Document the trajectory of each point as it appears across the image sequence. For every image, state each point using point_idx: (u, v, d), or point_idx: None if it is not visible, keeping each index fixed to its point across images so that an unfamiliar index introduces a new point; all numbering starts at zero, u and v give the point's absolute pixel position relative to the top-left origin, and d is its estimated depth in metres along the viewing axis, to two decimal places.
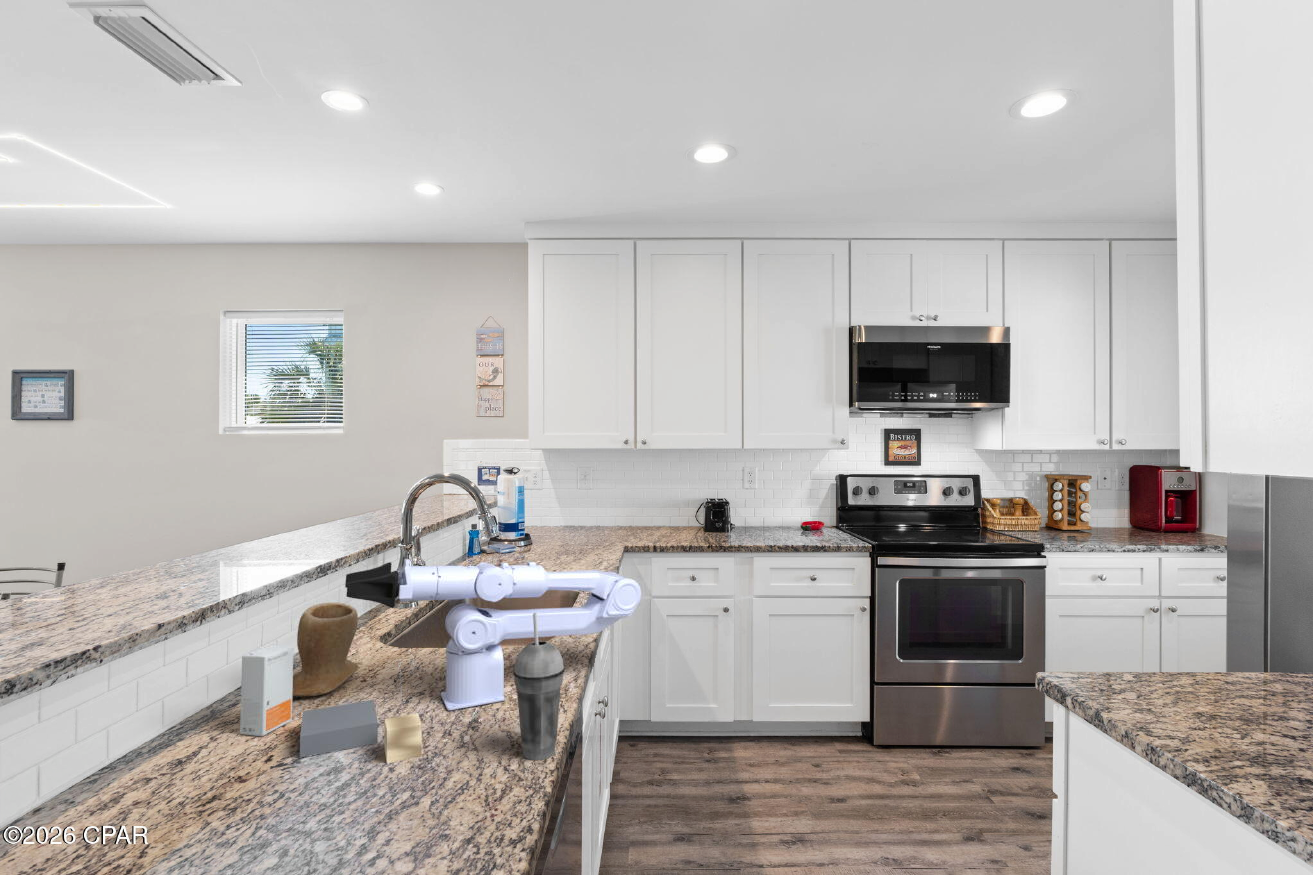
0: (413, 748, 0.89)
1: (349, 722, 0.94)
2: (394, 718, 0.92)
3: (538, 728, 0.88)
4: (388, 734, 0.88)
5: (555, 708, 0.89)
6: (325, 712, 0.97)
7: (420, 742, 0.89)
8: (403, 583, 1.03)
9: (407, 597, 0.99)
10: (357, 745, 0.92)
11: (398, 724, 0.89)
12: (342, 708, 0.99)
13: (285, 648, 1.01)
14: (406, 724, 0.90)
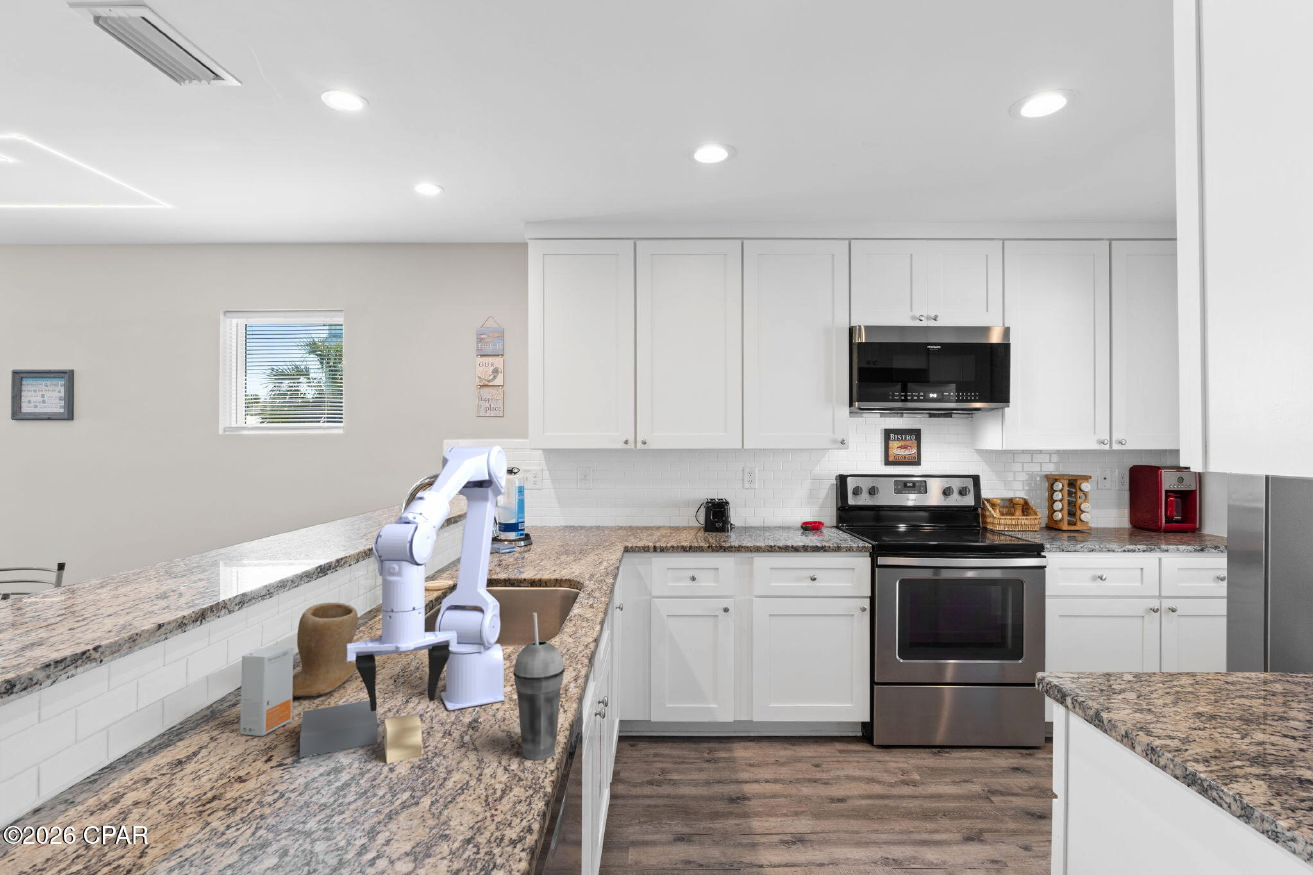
0: (413, 748, 0.89)
1: (349, 722, 0.94)
2: (394, 718, 0.92)
3: (538, 728, 0.88)
4: (388, 734, 0.88)
5: (555, 708, 0.89)
6: (325, 712, 0.97)
7: (420, 742, 0.89)
8: None
9: None
10: (357, 745, 0.92)
11: (398, 724, 0.89)
12: (342, 708, 0.99)
13: (285, 648, 1.01)
14: (406, 724, 0.90)
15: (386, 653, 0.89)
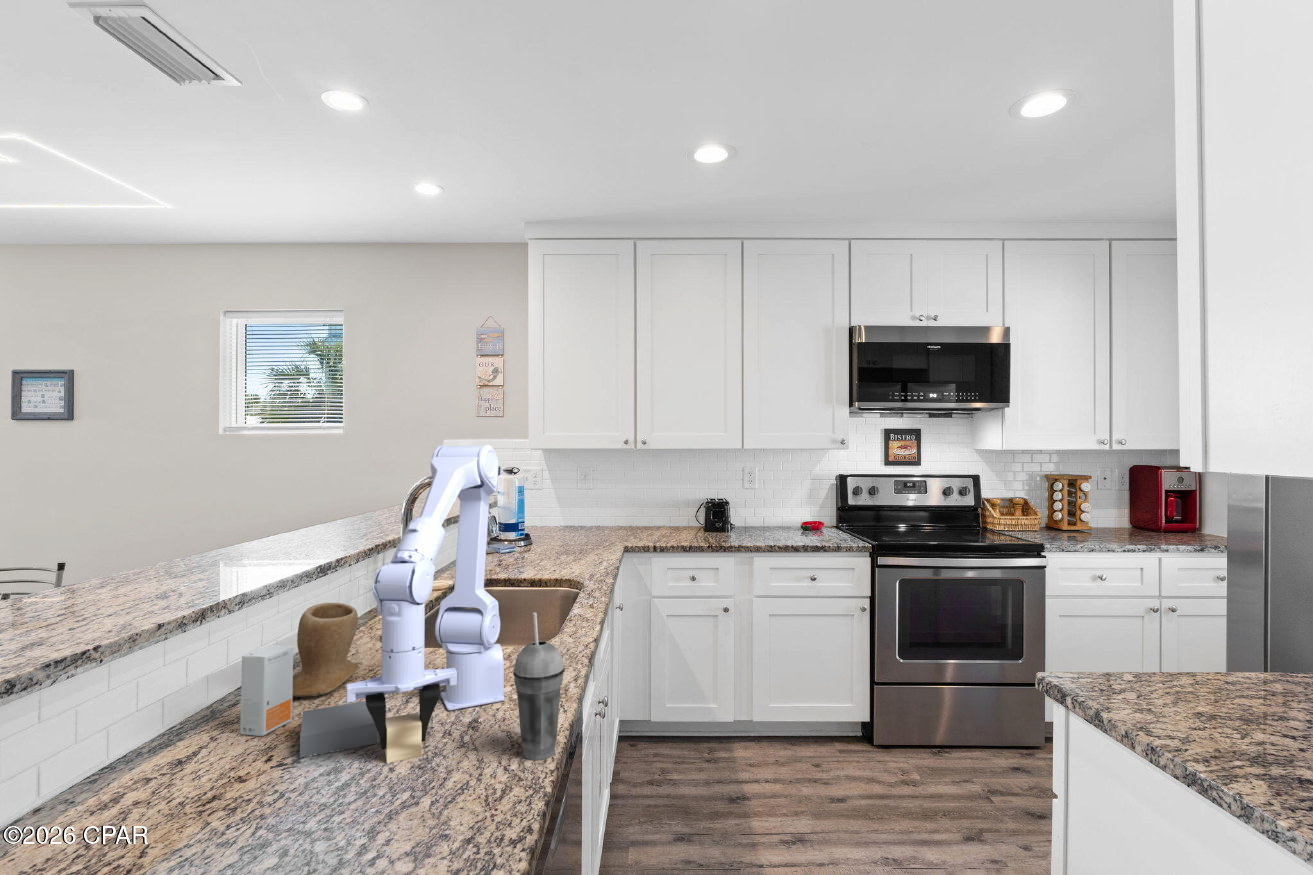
0: (413, 747, 0.89)
1: (349, 722, 0.94)
2: (394, 717, 0.92)
3: (538, 728, 0.88)
4: (388, 733, 0.88)
5: (555, 708, 0.89)
6: (325, 712, 0.97)
7: (420, 741, 0.89)
8: None
9: None
10: (357, 745, 0.92)
11: (398, 724, 0.89)
12: (342, 708, 0.99)
13: (285, 648, 1.01)
14: (406, 723, 0.90)
15: (386, 693, 0.89)
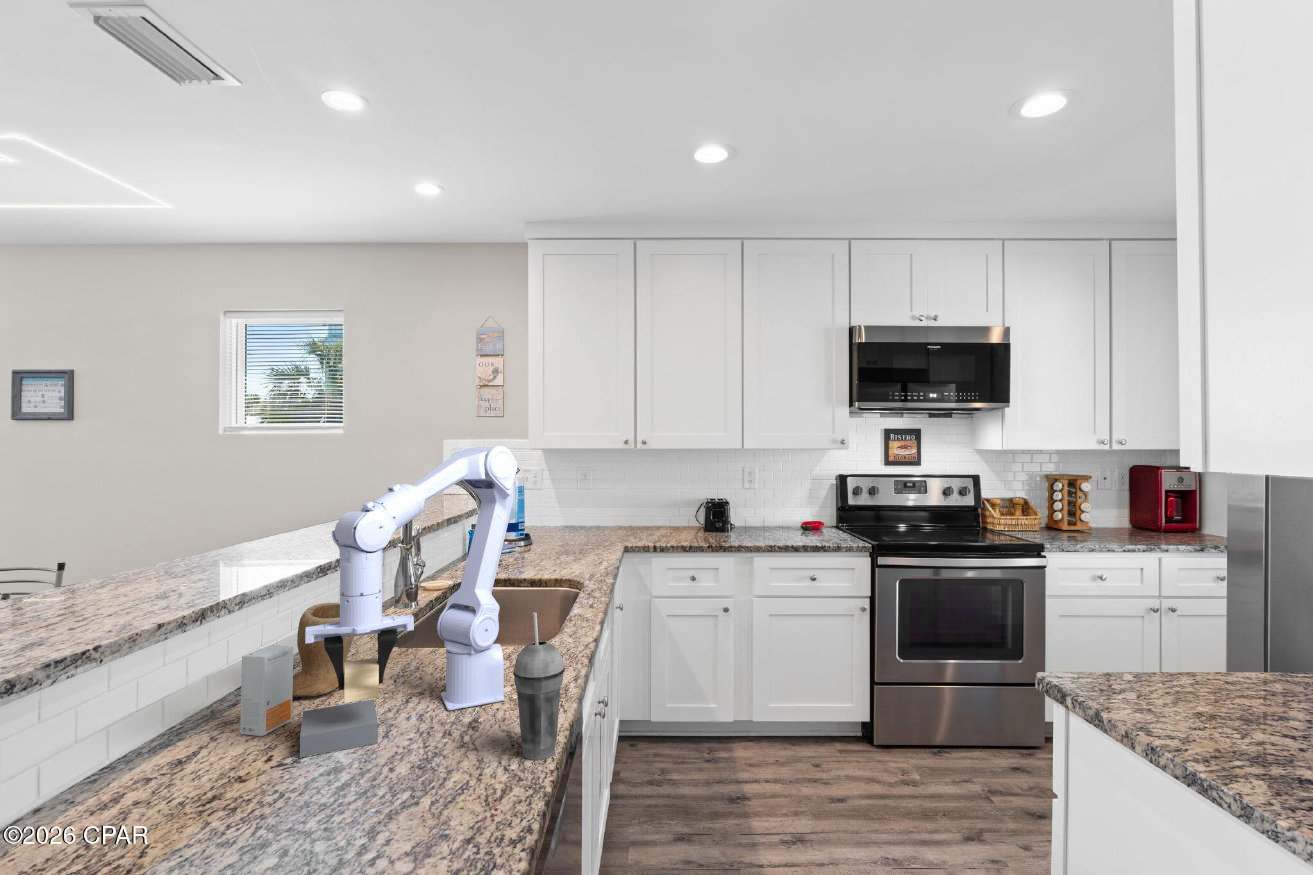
0: (370, 688, 0.93)
1: (349, 722, 0.94)
2: (353, 661, 0.95)
3: (538, 728, 0.88)
4: (346, 674, 0.91)
5: (555, 708, 0.89)
6: (325, 712, 0.97)
7: (377, 683, 0.93)
8: None
9: None
10: (357, 745, 0.92)
11: (356, 666, 0.93)
12: (342, 708, 0.99)
13: (285, 648, 1.01)
14: (363, 666, 0.93)
15: (344, 636, 0.93)
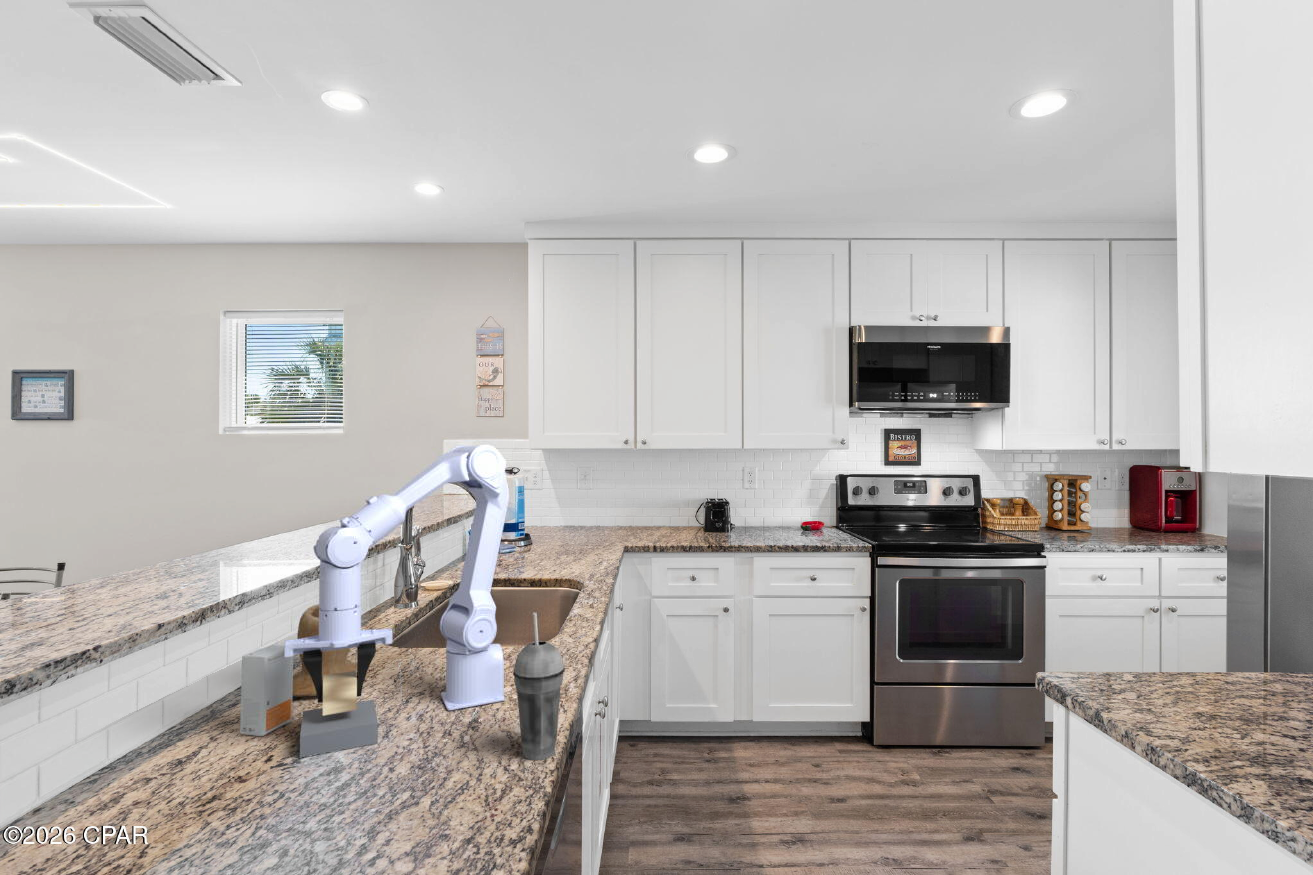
0: (348, 701, 0.94)
1: (349, 722, 0.94)
2: (332, 674, 0.97)
3: (538, 728, 0.88)
4: (324, 687, 0.93)
5: (555, 708, 0.89)
6: None
7: (355, 696, 0.95)
8: None
9: None
10: (357, 745, 0.92)
11: (335, 679, 0.95)
12: None
13: None
14: (342, 679, 0.95)
15: (323, 650, 0.95)
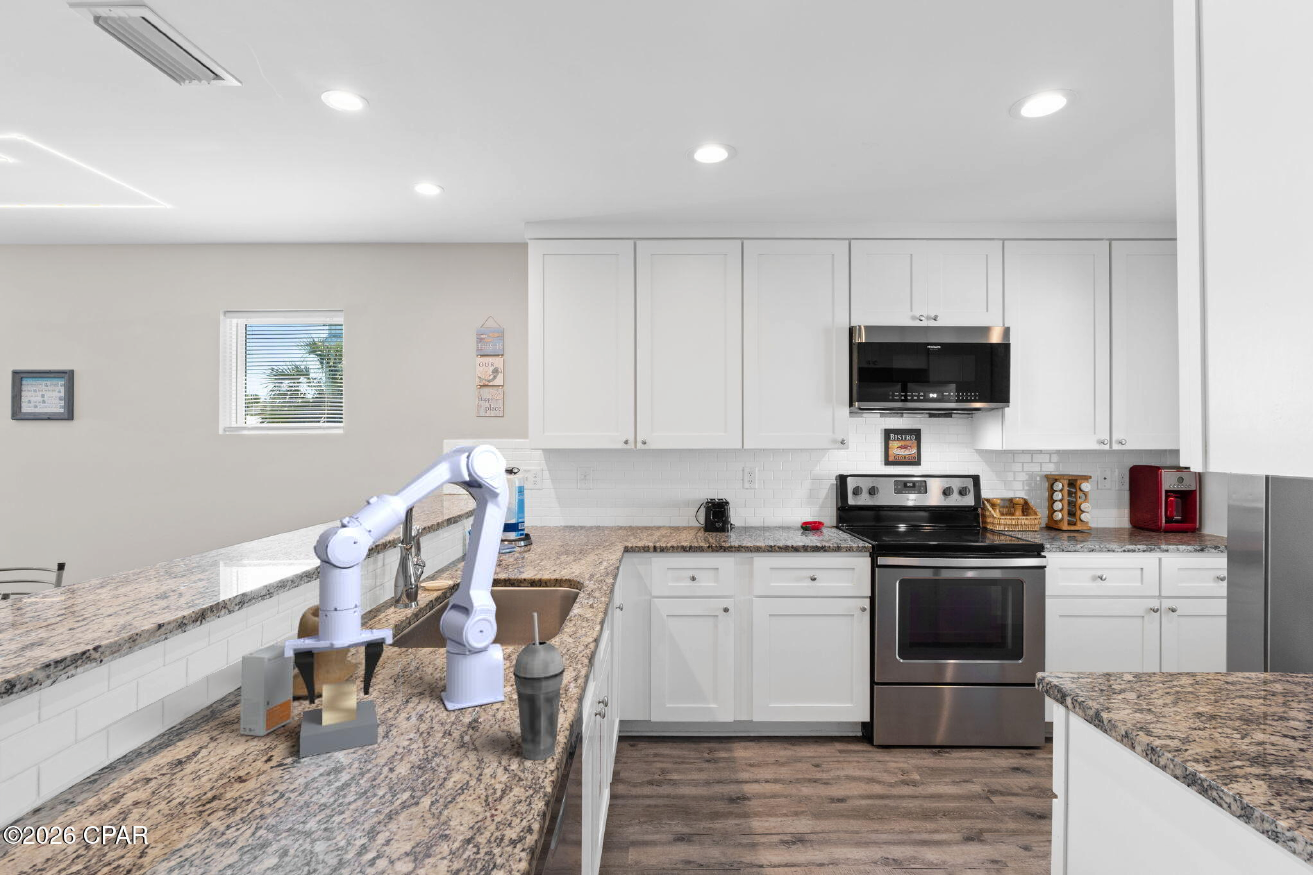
0: (348, 711, 0.94)
1: (349, 722, 0.94)
2: (332, 684, 0.97)
3: (538, 728, 0.88)
4: (323, 697, 0.93)
5: (555, 708, 0.89)
6: None
7: (355, 705, 0.95)
8: None
9: None
10: (357, 745, 0.92)
11: (334, 689, 0.95)
12: None
13: None
14: (341, 689, 0.95)
15: (323, 649, 0.95)
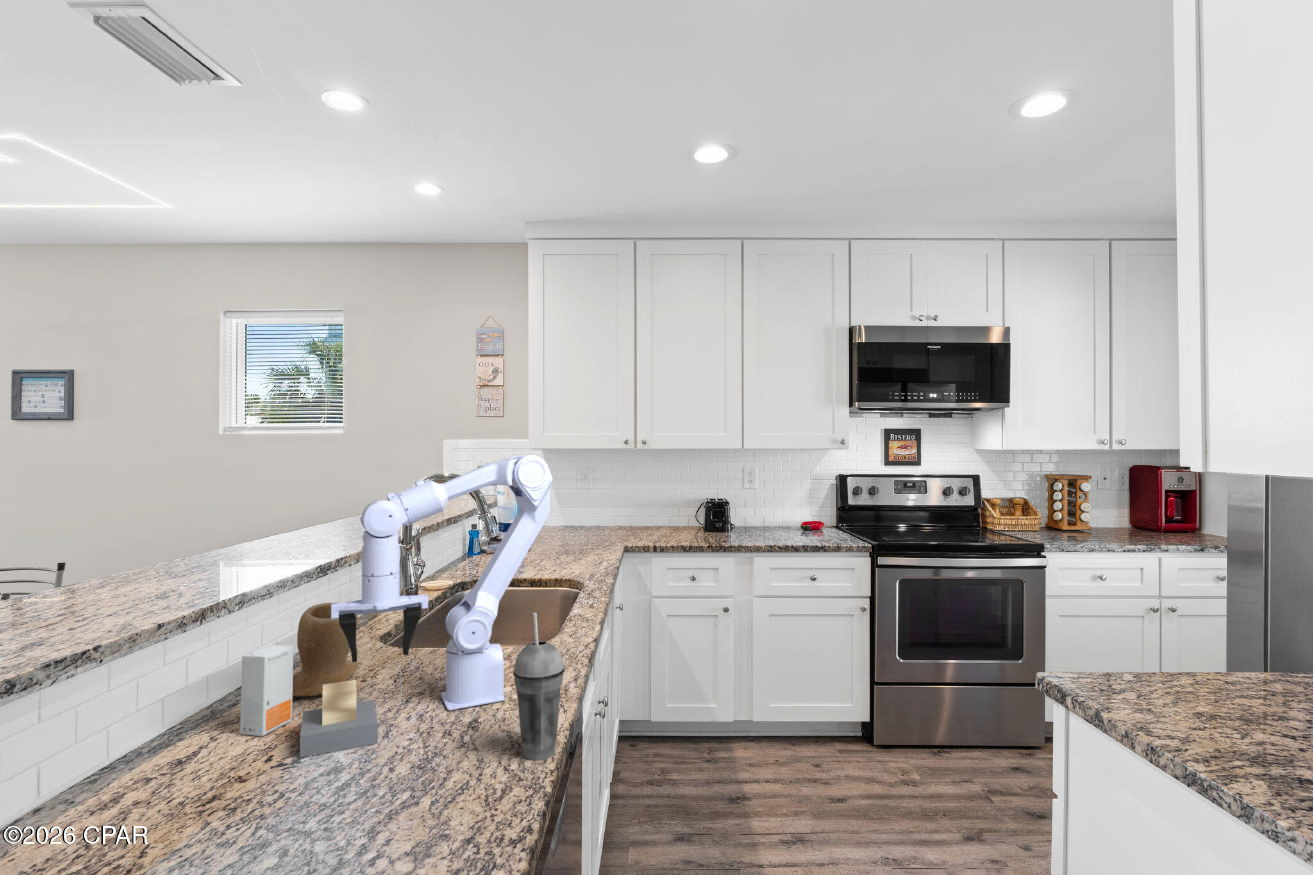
0: (348, 711, 0.94)
1: (349, 722, 0.94)
2: (332, 684, 0.97)
3: (538, 728, 0.88)
4: (323, 697, 0.93)
5: (555, 708, 0.89)
6: None
7: (355, 705, 0.95)
8: None
9: None
10: (357, 745, 0.92)
11: (334, 689, 0.95)
12: None
13: (286, 648, 1.01)
14: (341, 689, 0.95)
15: (365, 612, 1.03)
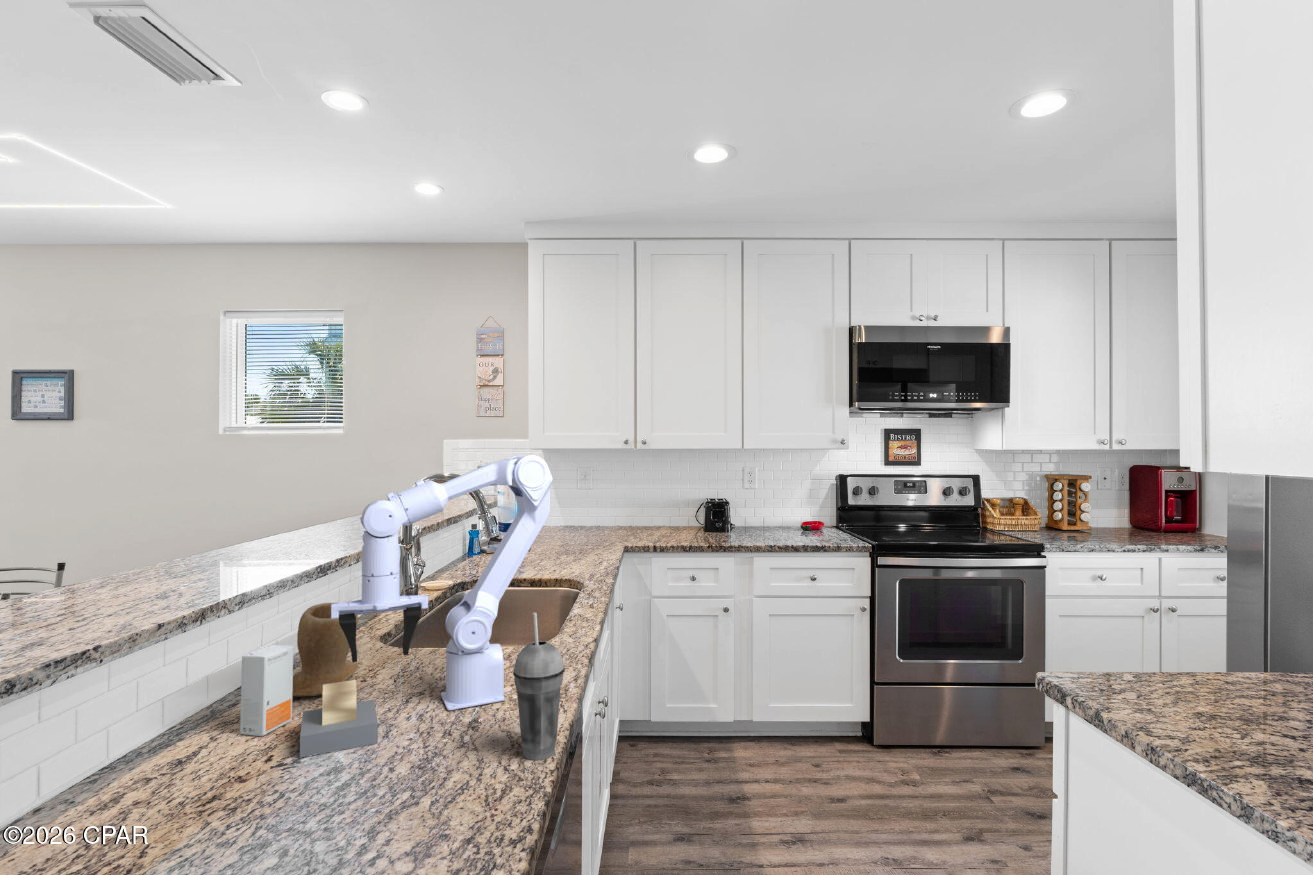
0: (348, 711, 0.94)
1: (349, 722, 0.94)
2: (332, 684, 0.97)
3: (538, 728, 0.88)
4: (323, 697, 0.93)
5: (555, 708, 0.89)
6: None
7: (355, 705, 0.95)
8: None
9: None
10: (357, 745, 0.92)
11: (334, 689, 0.95)
12: None
13: (285, 648, 1.01)
14: (341, 689, 0.95)
15: (365, 612, 1.03)
